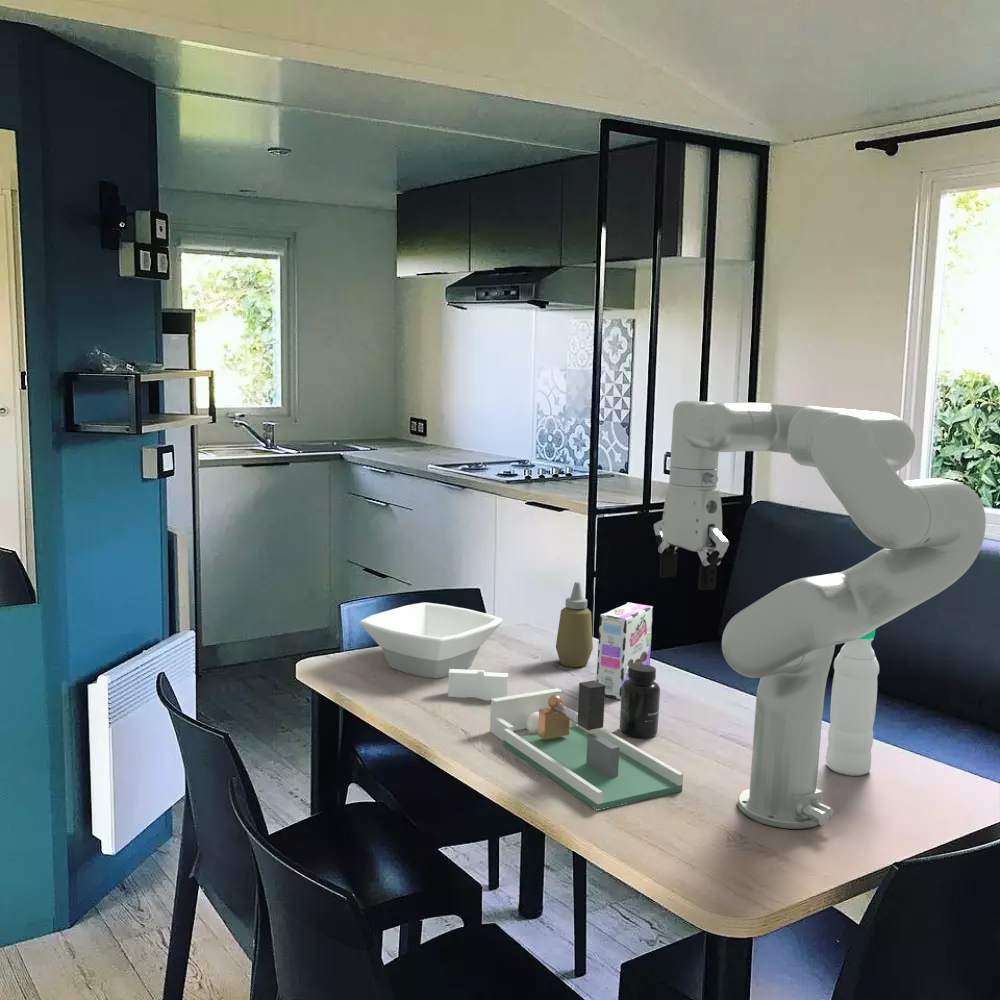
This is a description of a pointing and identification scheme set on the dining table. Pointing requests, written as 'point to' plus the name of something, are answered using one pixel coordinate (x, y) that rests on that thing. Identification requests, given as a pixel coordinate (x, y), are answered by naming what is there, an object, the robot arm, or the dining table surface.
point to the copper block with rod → (573, 712)
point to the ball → (533, 722)
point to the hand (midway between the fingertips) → (686, 582)
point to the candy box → (623, 644)
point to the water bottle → (853, 708)
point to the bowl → (430, 637)
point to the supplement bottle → (640, 702)
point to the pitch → (583, 756)
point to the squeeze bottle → (575, 631)
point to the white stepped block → (477, 684)
